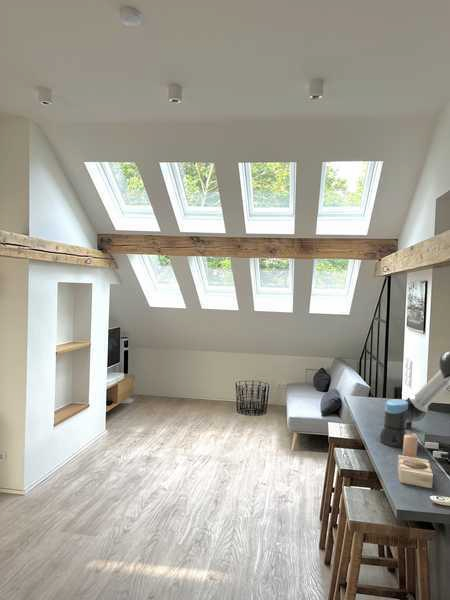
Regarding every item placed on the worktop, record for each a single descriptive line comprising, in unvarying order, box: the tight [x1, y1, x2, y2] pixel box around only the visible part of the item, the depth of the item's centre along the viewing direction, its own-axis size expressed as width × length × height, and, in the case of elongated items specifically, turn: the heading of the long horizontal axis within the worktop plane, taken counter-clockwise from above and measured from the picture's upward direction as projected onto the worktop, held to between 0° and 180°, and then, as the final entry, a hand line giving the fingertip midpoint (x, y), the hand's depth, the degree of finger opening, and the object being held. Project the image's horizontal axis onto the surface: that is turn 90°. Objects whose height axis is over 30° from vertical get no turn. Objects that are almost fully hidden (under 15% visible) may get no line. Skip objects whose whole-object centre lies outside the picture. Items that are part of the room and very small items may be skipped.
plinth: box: [397, 454, 434, 489], centre depth 210 cm, size 20×13×6 cm, turn 162°
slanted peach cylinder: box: [401, 433, 419, 458], centre depth 231 cm, size 6×6×12 cm
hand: (428, 449), depth 230 cm, fingers open, 13 cm apart
